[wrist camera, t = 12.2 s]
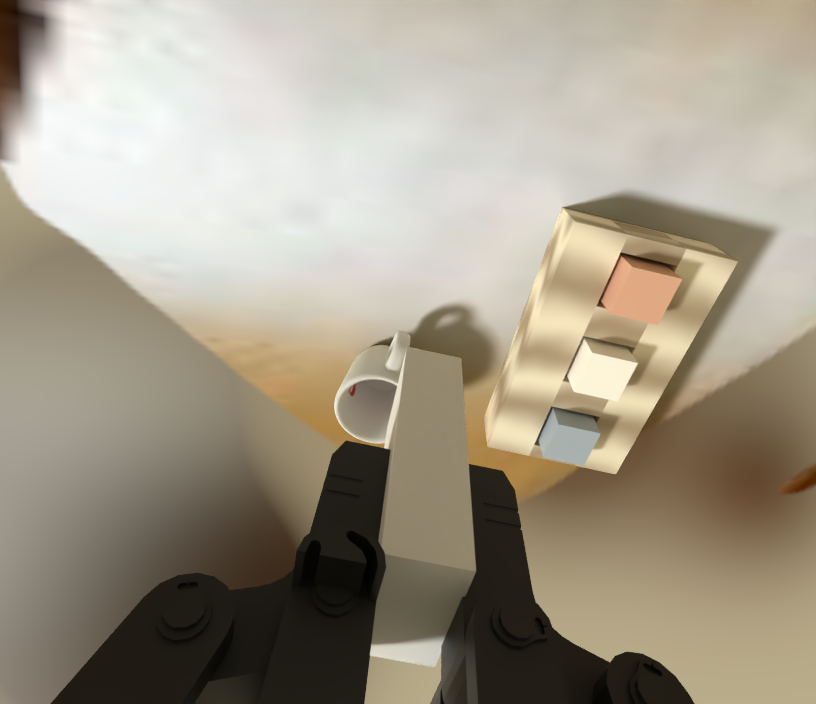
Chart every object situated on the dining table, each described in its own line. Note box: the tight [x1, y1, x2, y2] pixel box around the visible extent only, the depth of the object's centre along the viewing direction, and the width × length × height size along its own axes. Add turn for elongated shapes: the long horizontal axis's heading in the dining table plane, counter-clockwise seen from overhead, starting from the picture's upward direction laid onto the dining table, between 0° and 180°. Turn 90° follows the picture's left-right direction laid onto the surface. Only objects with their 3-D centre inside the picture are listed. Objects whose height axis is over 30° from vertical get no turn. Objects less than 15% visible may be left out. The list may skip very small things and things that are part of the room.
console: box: [484, 208, 738, 474], centre depth 48 cm, size 24×14×5 cm, turn 167°
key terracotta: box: [600, 252, 682, 325], centre depth 43 cm, size 4×4×5 cm
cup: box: [334, 331, 410, 443], centre depth 49 cm, size 11×8×8 cm
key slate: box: [538, 406, 601, 466], centre depth 50 cm, size 4×4×5 cm
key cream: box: [566, 336, 638, 402], centre depth 46 cm, size 4×4×5 cm
